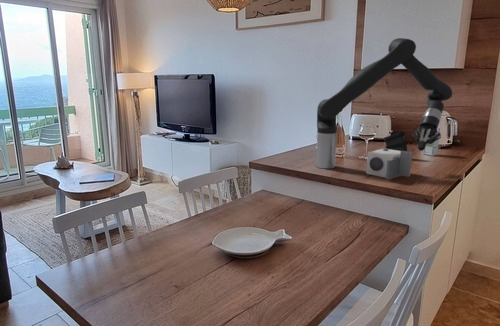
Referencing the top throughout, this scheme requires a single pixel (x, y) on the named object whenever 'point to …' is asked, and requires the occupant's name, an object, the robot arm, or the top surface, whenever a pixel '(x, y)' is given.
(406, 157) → the side door
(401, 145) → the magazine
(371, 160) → the knobbed white box
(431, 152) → the syrup box
